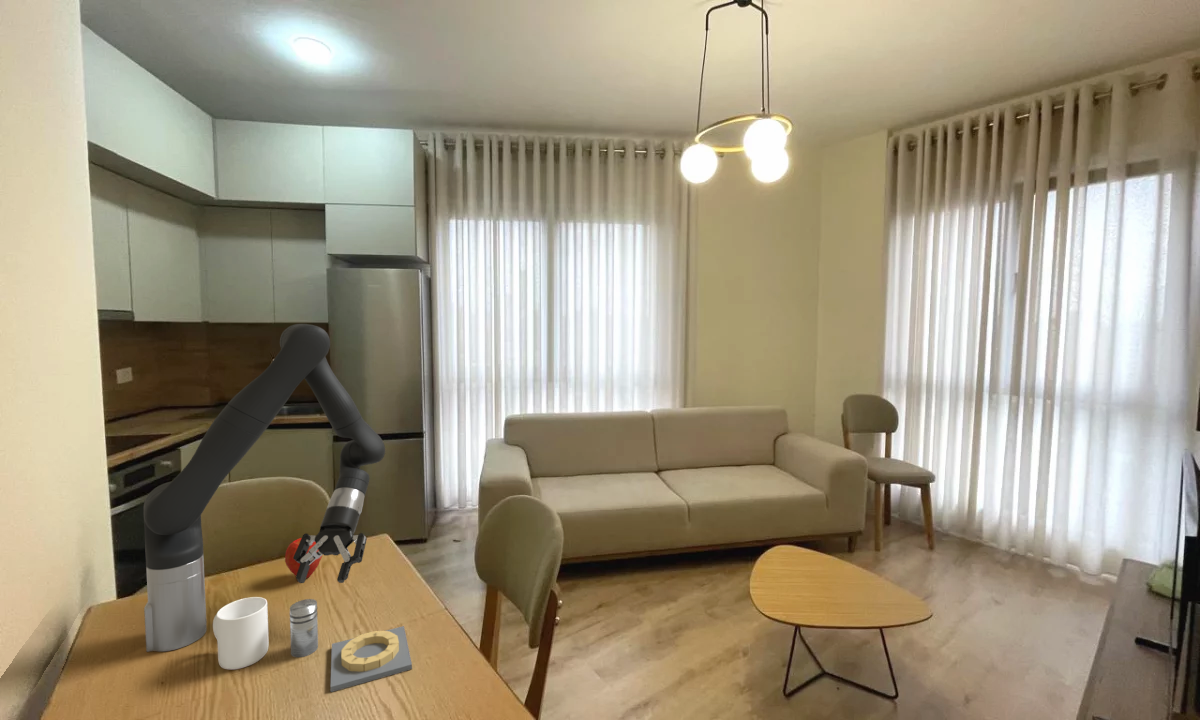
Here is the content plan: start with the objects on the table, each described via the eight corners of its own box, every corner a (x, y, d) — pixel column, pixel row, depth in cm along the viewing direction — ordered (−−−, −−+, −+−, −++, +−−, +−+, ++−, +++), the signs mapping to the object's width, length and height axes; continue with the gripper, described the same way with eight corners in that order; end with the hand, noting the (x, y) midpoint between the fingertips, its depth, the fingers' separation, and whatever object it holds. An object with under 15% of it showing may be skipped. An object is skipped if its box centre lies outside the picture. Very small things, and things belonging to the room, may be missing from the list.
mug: (194, 661, 99) (192, 611, 99) (236, 637, 107) (234, 590, 107) (238, 675, 96) (236, 623, 95) (278, 649, 104) (277, 600, 103)
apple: (291, 589, 127) (290, 548, 126) (281, 578, 132) (279, 538, 132) (327, 577, 133) (326, 538, 132) (316, 567, 139) (315, 529, 138)
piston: (289, 660, 100) (288, 614, 100) (291, 646, 104) (290, 602, 104) (317, 653, 102) (316, 608, 102) (318, 639, 107) (317, 596, 106)
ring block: (330, 692, 92) (330, 679, 91) (332, 648, 104) (331, 636, 104) (411, 669, 98) (411, 656, 98) (404, 630, 110) (403, 619, 110)
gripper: (307, 504, 117) (279, 576, 106) (369, 504, 118) (347, 575, 107) (319, 518, 123) (294, 587, 112) (378, 517, 123) (359, 587, 113)
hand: (320, 582), depth 109 cm, fingers open, 8 cm apart
